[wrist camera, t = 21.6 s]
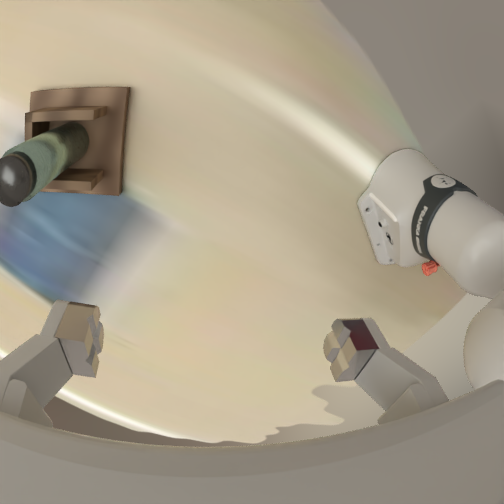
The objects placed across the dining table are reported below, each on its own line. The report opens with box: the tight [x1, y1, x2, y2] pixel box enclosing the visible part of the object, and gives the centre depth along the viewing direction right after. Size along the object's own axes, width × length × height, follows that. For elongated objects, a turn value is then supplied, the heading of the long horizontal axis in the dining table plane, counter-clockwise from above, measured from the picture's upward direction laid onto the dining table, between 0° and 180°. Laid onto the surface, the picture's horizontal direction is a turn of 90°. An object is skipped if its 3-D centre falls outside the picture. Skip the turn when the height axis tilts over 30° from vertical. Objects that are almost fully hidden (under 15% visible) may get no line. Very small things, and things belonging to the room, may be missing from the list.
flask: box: [0, 122, 89, 207], centre depth 26 cm, size 6×6×16 cm
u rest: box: [25, 87, 130, 196], centre depth 31 cm, size 15×15×6 cm
